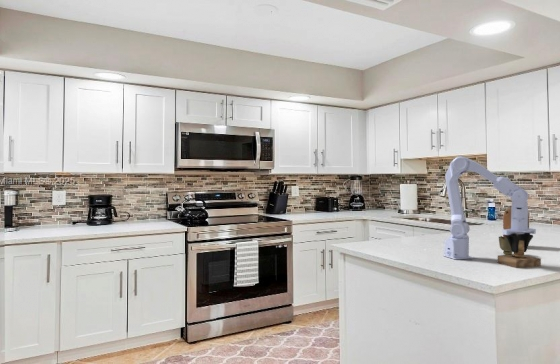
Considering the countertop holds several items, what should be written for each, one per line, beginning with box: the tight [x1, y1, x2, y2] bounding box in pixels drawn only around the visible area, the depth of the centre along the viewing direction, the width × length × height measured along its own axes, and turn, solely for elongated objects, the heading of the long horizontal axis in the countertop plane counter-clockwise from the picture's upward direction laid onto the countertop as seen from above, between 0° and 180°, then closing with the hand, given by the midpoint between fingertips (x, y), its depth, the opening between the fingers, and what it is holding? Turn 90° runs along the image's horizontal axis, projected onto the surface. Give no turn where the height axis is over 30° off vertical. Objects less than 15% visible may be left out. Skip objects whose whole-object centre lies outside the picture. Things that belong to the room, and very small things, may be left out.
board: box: [497, 253, 542, 269], centre depth 152 cm, size 12×9×3 cm
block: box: [502, 206, 530, 238], centre depth 191 cm, size 11×8×20 cm
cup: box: [498, 235, 513, 255], centre depth 172 cm, size 8×7×8 cm
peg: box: [513, 240, 525, 257], centre depth 152 cm, size 4×4×6 cm
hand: (518, 252), depth 152 cm, fingers closed on peg, 4 cm apart
